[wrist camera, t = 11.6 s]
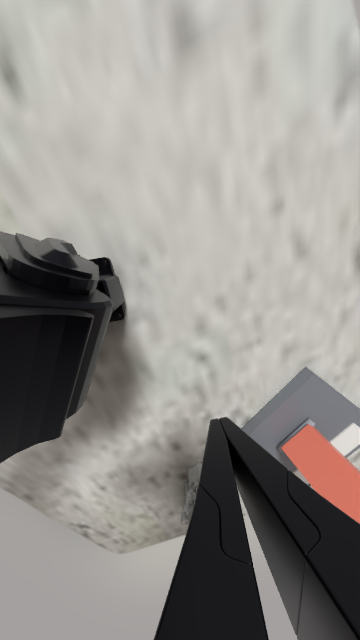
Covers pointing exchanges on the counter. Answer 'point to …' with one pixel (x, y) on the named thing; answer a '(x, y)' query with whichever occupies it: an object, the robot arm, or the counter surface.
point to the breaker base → (299, 405)
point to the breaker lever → (324, 468)
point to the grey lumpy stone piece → (190, 492)
